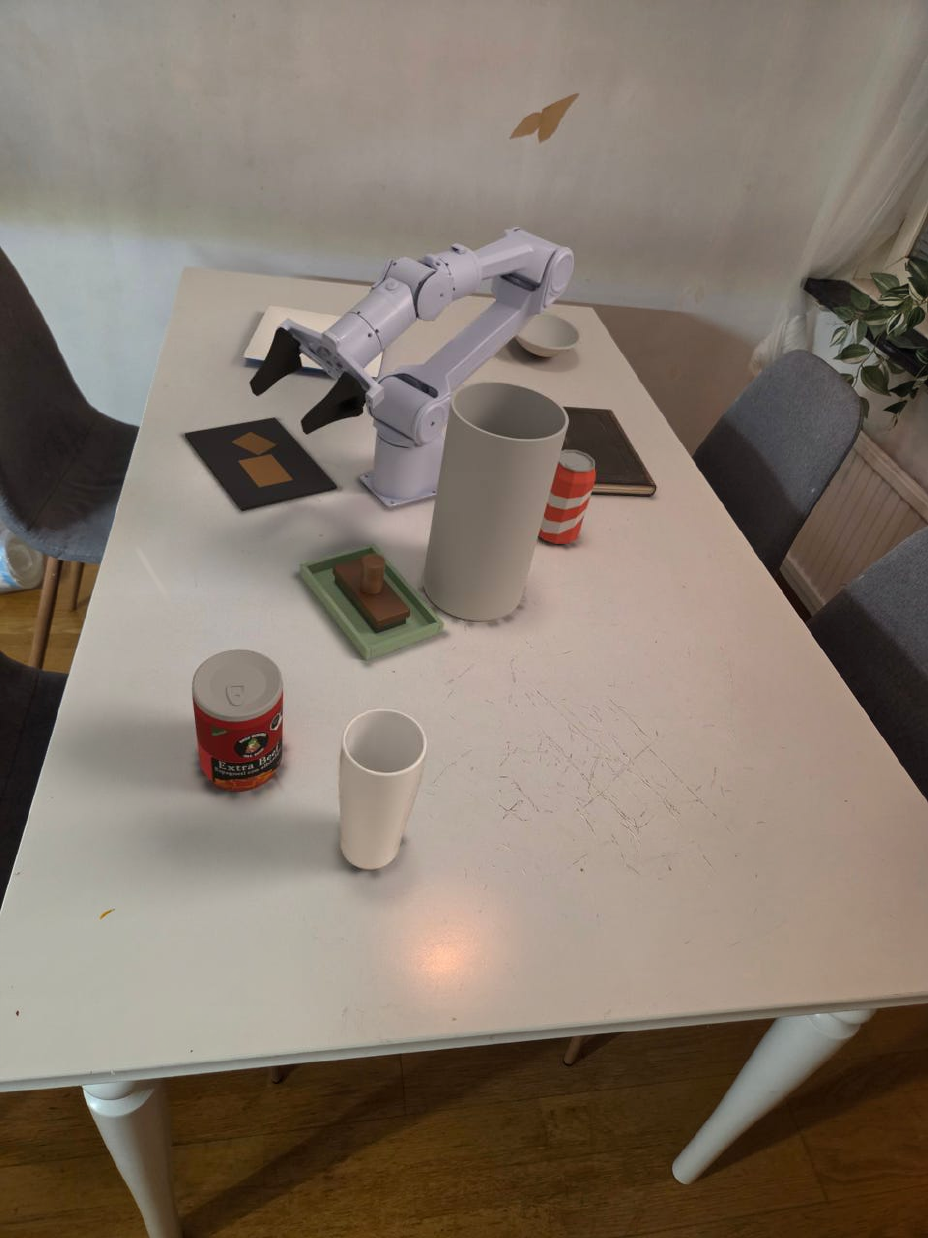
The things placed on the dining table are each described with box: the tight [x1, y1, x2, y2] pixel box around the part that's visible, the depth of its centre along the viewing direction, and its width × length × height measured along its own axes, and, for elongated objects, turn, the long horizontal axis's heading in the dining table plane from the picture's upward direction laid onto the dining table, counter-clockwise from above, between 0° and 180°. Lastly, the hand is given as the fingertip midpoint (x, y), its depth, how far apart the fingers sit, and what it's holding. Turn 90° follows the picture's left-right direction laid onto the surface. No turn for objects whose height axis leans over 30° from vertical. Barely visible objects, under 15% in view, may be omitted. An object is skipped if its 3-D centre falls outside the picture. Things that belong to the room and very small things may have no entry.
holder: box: [299, 543, 445, 661], centre depth 94 cm, size 10×16×2 cm, turn 35°
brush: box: [333, 554, 411, 634], centre depth 93 cm, size 11×4×6 cm, turn 35°
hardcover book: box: [561, 405, 658, 498], centre depth 129 cm, size 16×23×2 cm
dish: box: [514, 310, 583, 358], centre depth 155 cm, size 18×14×5 cm
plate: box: [242, 305, 384, 380], centre depth 142 cm, size 22×22×2 cm
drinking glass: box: [337, 708, 428, 870], centre depth 67 cm, size 7×7×15 cm
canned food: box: [191, 648, 284, 792], centre depth 72 cm, size 8×8×11 cm
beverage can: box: [538, 450, 596, 545], centre depth 108 cm, size 6×6×12 cm
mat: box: [184, 417, 338, 512], centre depth 113 cm, size 14×20×1 cm
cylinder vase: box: [422, 380, 569, 622], centre depth 92 cm, size 12×12×25 cm
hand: (278, 408), depth 87 cm, fingers open, 7 cm apart
